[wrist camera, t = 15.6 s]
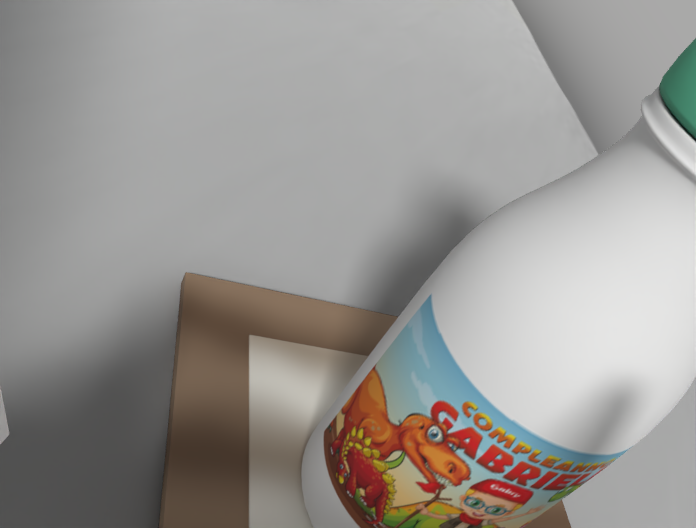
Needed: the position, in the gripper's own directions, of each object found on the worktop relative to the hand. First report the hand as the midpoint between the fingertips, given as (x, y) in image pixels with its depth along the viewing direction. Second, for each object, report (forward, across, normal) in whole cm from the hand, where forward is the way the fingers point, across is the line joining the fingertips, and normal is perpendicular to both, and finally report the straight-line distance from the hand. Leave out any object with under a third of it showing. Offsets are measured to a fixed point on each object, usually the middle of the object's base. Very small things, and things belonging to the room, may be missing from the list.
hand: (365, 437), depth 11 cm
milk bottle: (+12, 0, -13) cm, 17 cm away
